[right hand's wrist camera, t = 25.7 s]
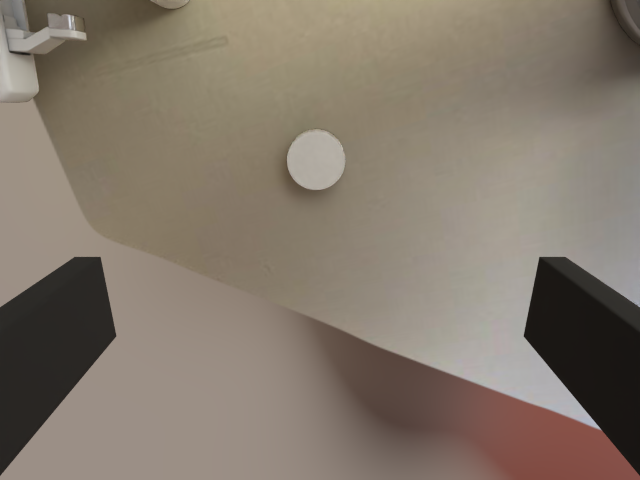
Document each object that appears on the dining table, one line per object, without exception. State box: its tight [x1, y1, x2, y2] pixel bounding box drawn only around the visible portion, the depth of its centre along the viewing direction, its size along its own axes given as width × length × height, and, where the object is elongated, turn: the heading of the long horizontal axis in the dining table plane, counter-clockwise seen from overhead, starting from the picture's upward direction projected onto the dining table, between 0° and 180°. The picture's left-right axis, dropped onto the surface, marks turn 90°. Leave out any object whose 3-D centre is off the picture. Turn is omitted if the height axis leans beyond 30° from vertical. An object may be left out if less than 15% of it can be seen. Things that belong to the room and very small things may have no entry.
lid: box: [286, 129, 346, 190], centre depth 38 cm, size 5×5×2 cm
